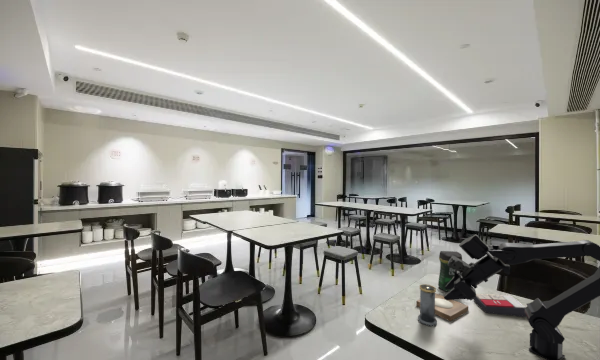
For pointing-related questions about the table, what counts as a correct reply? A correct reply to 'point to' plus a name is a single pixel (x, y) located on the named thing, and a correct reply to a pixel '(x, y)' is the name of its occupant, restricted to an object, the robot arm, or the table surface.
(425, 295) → the housing
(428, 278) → the table surface
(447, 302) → the stand
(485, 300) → the red and white box
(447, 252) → the coffee jar
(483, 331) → the table surface
